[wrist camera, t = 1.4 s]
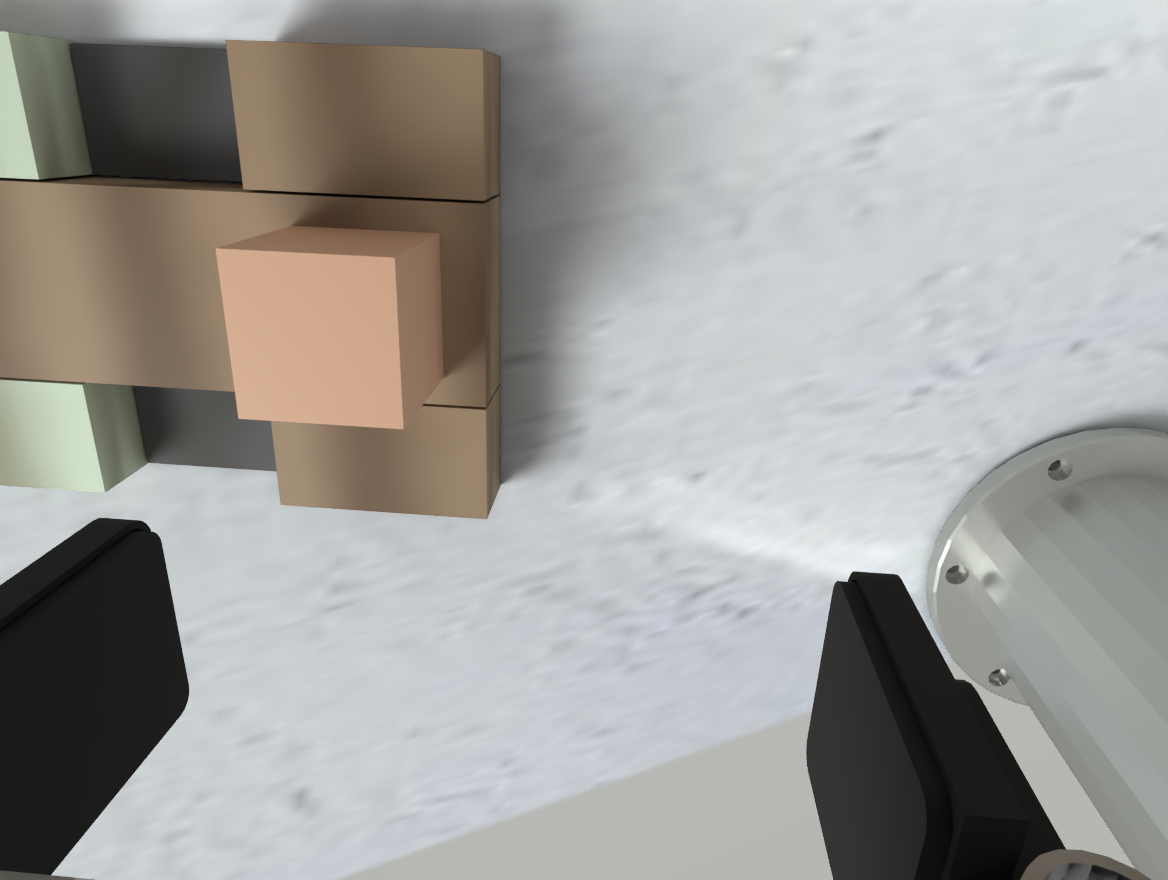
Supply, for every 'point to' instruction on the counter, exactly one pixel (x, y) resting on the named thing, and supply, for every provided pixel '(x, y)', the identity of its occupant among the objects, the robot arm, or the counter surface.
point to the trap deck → (224, 216)
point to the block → (333, 324)
